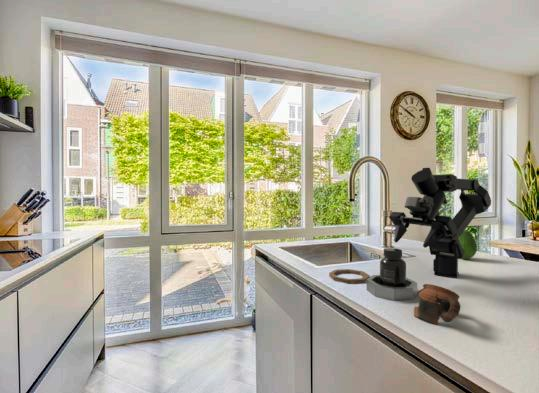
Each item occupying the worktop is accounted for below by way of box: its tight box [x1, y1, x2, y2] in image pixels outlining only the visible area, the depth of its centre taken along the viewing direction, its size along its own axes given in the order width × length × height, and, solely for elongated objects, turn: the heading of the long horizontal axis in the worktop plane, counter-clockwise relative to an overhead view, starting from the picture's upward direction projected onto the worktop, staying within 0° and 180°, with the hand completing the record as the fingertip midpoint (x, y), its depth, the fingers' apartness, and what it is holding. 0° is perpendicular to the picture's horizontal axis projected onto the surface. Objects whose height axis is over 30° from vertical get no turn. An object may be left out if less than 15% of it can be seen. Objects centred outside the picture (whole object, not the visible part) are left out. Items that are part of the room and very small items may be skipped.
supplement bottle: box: [379, 247, 407, 287], centre depth 84 cm, size 7×7×12 cm
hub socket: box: [366, 274, 418, 301], centre depth 84 cm, size 12×12×3 cm
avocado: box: [459, 229, 478, 260], centre depth 122 cm, size 8×8×12 cm
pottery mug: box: [413, 283, 461, 326], centre depth 67 cm, size 12×10×8 cm
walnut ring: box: [328, 268, 371, 284], centre depth 98 cm, size 12×12×1 cm
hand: (409, 244), depth 89 cm, fingers open, 9 cm apart
